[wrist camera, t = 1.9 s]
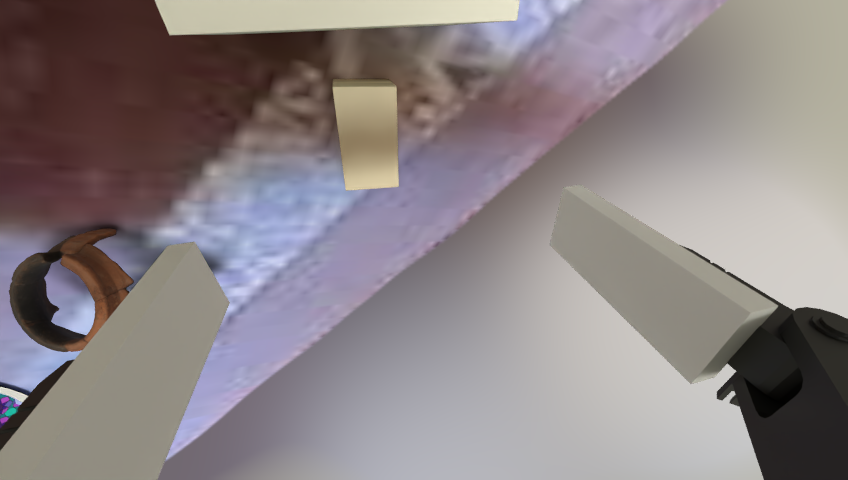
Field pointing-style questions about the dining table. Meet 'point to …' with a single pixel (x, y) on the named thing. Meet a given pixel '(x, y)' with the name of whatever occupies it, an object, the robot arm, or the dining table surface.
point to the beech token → (367, 132)
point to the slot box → (324, 14)
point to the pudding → (9, 403)
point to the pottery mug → (93, 270)
